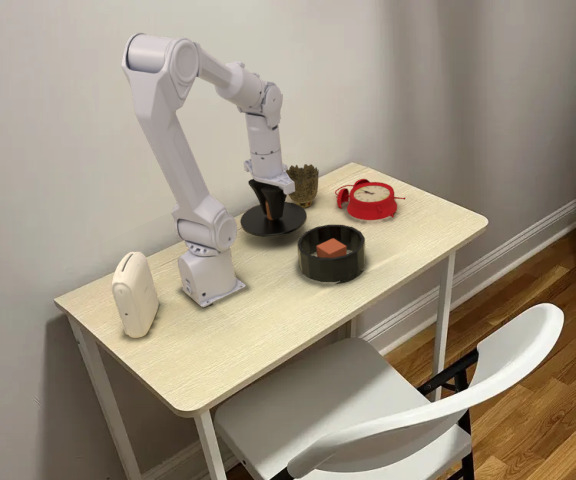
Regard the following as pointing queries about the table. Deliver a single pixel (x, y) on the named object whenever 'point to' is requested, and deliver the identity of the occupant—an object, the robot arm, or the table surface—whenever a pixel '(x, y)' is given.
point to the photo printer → (135, 294)
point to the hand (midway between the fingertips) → (273, 215)
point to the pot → (338, 266)
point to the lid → (273, 221)
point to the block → (331, 249)
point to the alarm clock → (368, 200)
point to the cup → (303, 184)
